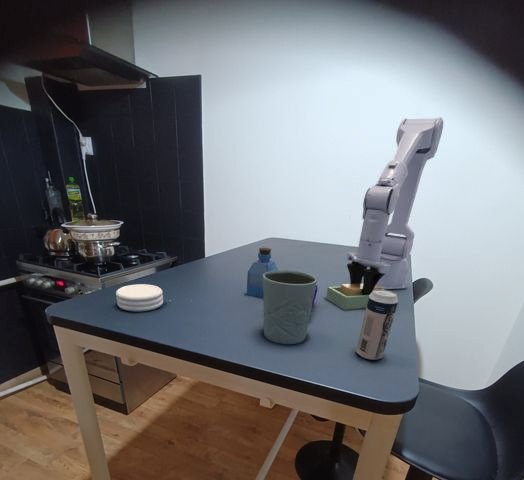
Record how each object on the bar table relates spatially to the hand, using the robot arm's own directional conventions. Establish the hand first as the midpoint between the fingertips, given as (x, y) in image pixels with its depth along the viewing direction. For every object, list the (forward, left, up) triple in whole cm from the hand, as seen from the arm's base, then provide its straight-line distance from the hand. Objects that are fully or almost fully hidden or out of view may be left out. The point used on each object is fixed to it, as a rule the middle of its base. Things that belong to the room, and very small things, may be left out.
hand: (360, 293), depth 85 cm
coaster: (+55, -9, -3) cm, 56 cm away
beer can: (+17, +26, -3) cm, 31 cm away
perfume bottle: (+24, -11, -3) cm, 26 cm away
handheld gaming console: (+21, +1, -3) cm, 21 cm away
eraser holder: (0, 0, -2) cm, 2 cm away
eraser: (0, 0, -1) cm, 1 cm away
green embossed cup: (+29, +14, -3) cm, 32 cm away
